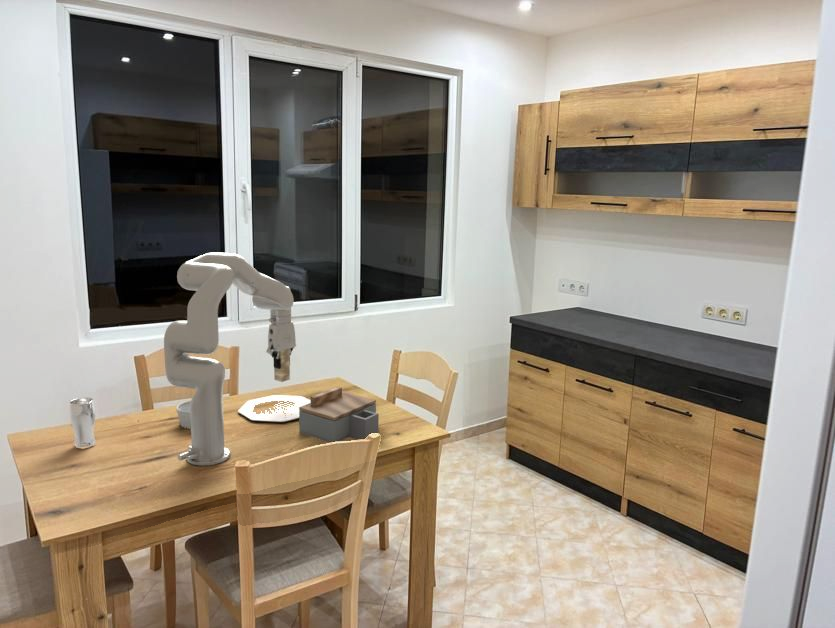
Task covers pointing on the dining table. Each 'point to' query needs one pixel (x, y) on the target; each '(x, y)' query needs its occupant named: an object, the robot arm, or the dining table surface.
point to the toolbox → (340, 425)
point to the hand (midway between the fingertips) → (281, 366)
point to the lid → (336, 404)
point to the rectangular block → (283, 367)
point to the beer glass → (83, 421)
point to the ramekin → (184, 414)
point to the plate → (274, 417)
